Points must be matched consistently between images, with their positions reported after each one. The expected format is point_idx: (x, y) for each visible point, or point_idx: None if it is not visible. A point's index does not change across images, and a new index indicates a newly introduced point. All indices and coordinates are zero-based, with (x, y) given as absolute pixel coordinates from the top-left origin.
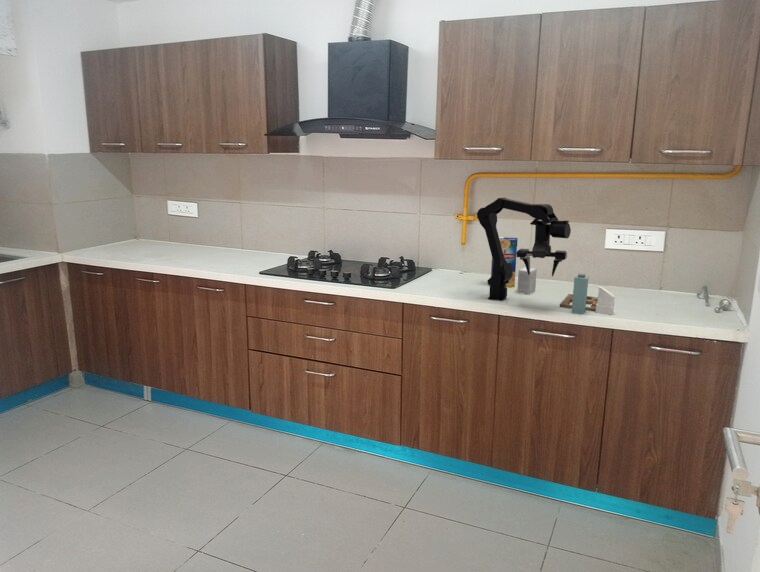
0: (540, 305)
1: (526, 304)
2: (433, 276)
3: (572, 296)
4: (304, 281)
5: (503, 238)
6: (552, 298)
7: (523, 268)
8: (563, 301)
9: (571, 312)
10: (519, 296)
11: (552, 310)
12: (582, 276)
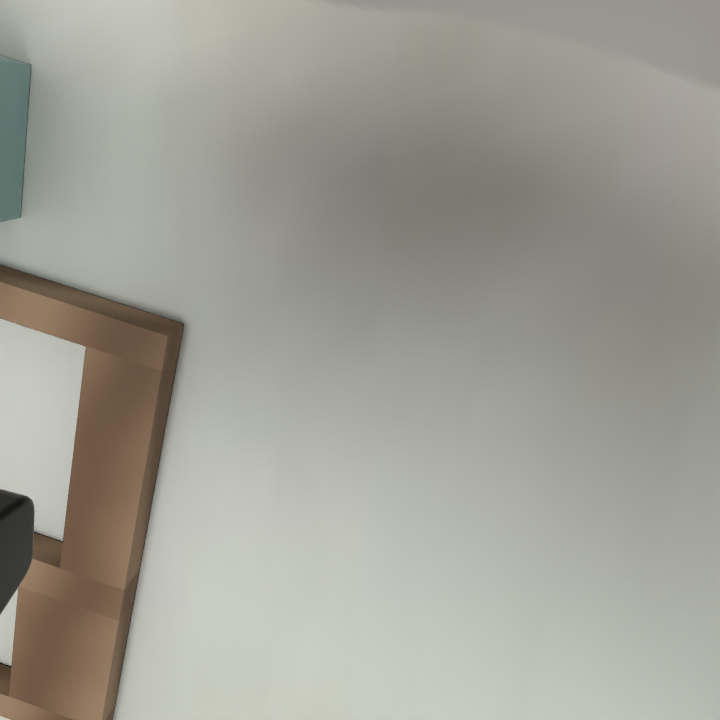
0: (415, 361)
1: (601, 380)
2: None
3: (53, 667)
4: None
5: None
6: (262, 659)
7: None
8: (130, 466)
9: (28, 66)
10: (629, 711)
11: (270, 133)
12: None
